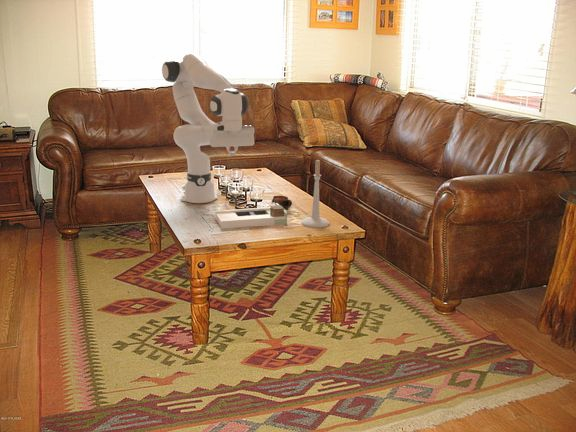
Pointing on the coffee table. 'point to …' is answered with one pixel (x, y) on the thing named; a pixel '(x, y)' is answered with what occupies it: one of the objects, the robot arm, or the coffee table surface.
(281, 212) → the walnut block
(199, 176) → the robot arm
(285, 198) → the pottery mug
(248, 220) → the box
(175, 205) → the coffee table surface
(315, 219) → the candlestick
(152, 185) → the coffee table surface
